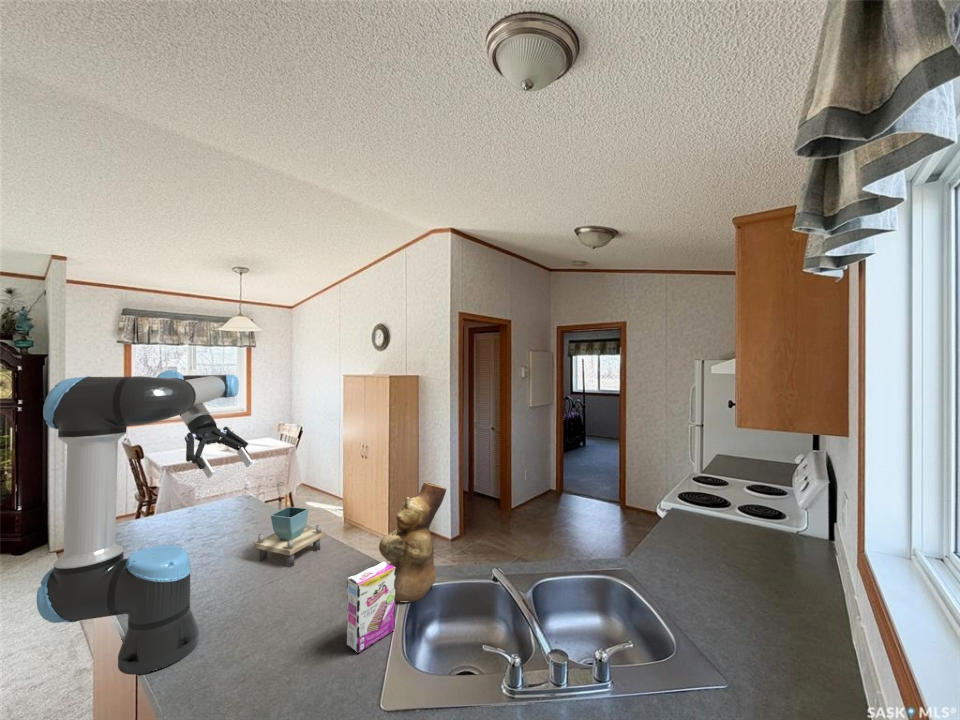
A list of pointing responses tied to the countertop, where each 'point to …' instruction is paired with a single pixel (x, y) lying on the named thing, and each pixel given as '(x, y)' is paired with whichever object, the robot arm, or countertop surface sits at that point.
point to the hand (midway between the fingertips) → (231, 469)
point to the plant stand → (289, 544)
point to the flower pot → (289, 522)
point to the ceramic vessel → (413, 544)
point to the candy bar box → (370, 605)
